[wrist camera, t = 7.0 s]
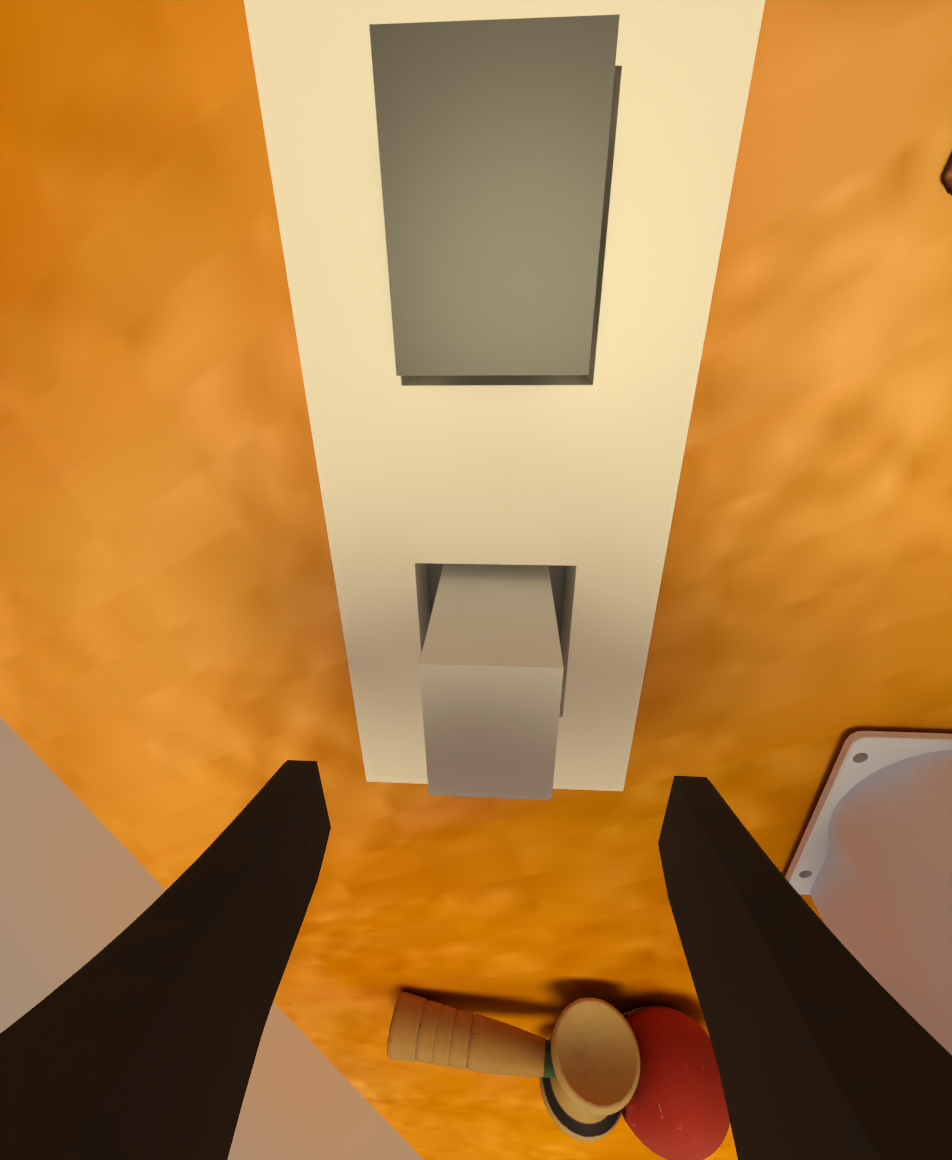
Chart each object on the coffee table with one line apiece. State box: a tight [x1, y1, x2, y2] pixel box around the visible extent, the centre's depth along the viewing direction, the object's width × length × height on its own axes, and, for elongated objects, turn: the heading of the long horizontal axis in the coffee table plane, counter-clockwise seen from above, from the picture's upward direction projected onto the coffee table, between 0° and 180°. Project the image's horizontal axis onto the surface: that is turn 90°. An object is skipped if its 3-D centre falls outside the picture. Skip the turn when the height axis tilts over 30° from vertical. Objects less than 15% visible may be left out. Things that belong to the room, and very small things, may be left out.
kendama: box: [387, 991, 730, 1160], centre depth 29 cm, size 8×6×18 cm
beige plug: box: [419, 564, 564, 800], centre depth 14 cm, size 4×3×6 cm
